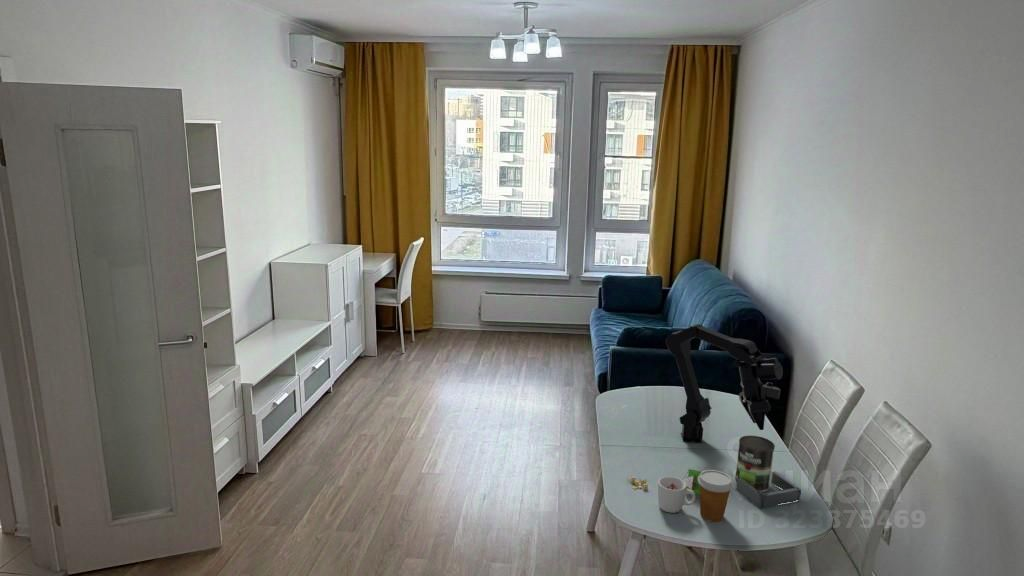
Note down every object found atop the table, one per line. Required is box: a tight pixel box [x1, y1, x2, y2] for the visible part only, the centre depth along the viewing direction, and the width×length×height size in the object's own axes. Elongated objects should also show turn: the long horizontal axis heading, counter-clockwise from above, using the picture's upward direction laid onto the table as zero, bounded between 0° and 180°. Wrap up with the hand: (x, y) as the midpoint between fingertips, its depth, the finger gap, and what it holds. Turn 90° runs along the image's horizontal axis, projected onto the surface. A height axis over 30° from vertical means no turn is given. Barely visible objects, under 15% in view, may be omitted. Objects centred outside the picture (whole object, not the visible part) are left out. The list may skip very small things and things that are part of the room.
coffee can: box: [734, 435, 776, 493], centre depth 206 cm, size 10×10×14 cm
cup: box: [657, 476, 697, 514], centre depth 191 cm, size 11×8×8 cm
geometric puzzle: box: [682, 468, 702, 496], centre depth 202 cm, size 7×7×8 cm
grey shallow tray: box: [735, 471, 802, 510], centre depth 200 cm, size 11×14×4 cm
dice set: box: [630, 476, 649, 491], centre depth 205 cm, size 5×5×2 cm
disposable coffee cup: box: [698, 469, 734, 523], centre depth 188 cm, size 10×10×12 cm
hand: (758, 426), depth 218 cm, fingers open, 9 cm apart
